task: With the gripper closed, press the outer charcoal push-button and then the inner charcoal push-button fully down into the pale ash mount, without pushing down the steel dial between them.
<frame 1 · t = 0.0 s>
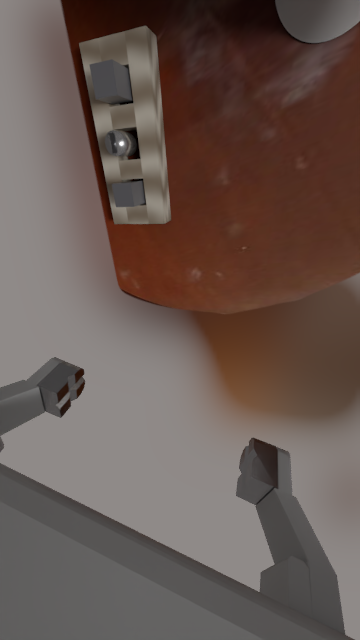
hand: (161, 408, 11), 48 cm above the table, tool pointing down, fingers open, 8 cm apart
outer button: (129, 193, 49), point 6 cm above the table, slide at 0.0 cm
mount: (136, 145, 49), on the table
steel dial: (120, 144, 44), point 6 cm above the table, slide at 0.0 cm
inner button: (112, 83, 40), point 6 cm above the table, slide at 0.0 cm
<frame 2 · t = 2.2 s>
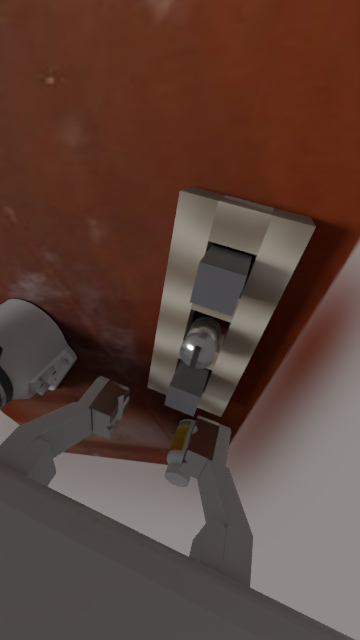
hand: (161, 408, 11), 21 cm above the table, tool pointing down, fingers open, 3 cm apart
outer button: (221, 278, 23), point 6 cm above the table, slide at 0.0 cm
supplement bottle: (192, 426, 48), on the table
mount: (212, 314, 33), on the table
steel dial: (200, 343, 28), point 6 cm above the table, slide at 0.0 cm
inner button: (187, 386, 33), point 6 cm above the table, slide at 0.0 cm
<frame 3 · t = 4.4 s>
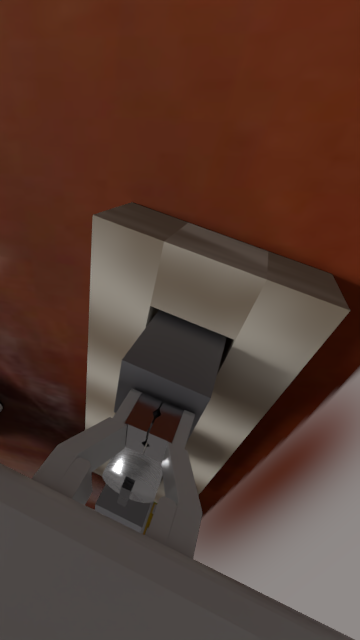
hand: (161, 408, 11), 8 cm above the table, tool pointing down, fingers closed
outer button: (173, 369, 13), point 5 cm above the table, slide at 0.7 cm, touching gripper
mount: (171, 387, 22), on the table
steel dial: (142, 453, 17), point 6 cm above the table, slide at 0.0 cm
inner button: (130, 490, 22), point 6 cm above the table, slide at 0.0 cm
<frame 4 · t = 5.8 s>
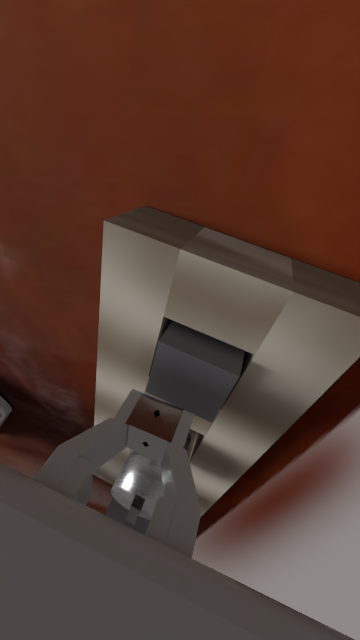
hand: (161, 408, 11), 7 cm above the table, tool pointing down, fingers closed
outer button: (200, 353, 14), point 3 cm above the table, slide at 3.1 cm
mount: (183, 396, 22), on the table
steel dial: (152, 468, 17), point 6 cm above the table, slide at 0.0 cm
inner button: (138, 501, 22), point 6 cm above the table, slide at 0.0 cm
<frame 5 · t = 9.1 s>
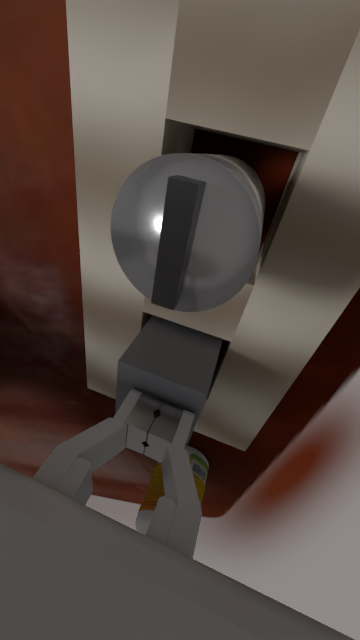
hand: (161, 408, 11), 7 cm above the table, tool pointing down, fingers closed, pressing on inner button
supplement bottle: (186, 455, 27), on the table
mount: (229, 197, 13), on the table
steel dial: (201, 224, 8), point 6 cm above the table, slide at 0.0 cm
inner button: (172, 369, 13), point 5 cm above the table, slide at 1.2 cm, touching gripper
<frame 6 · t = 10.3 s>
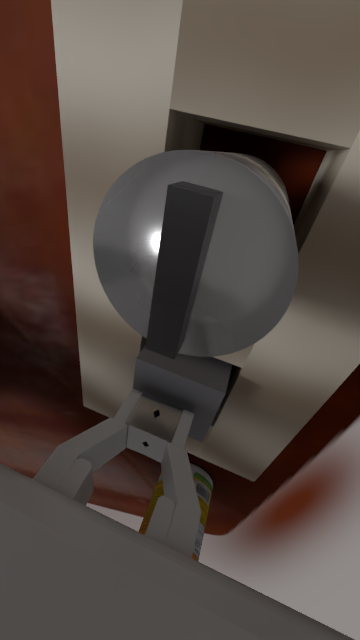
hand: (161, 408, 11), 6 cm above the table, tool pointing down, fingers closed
supplement bottle: (189, 472, 26), on the table
mount: (242, 202, 11), on the table
steel dial: (211, 241, 6), point 6 cm above the table, slide at 0.0 cm
inner button: (187, 367, 14), point 3 cm above the table, slide at 3.2 cm
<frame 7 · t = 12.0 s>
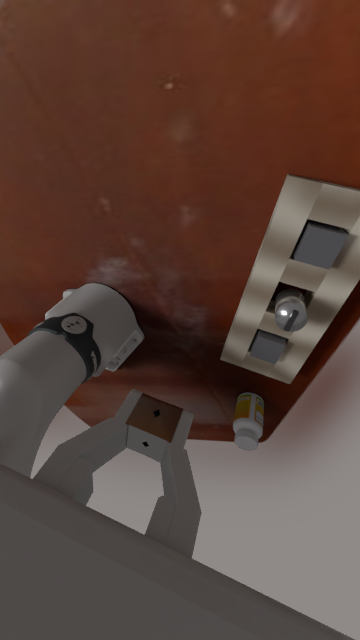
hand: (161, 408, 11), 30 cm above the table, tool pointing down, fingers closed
outer button: (317, 242, 30), point 3 cm above the table, slide at 3.1 cm
supplement bottle: (250, 400, 52), on the table
mount: (288, 289, 37), on the table
steel dial: (290, 310, 32), point 6 cm above the table, slide at 0.0 cm
inner button: (267, 341, 39), point 3 cm above the table, slide at 3.2 cm
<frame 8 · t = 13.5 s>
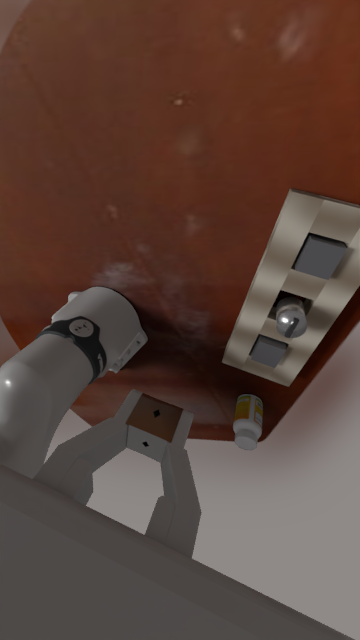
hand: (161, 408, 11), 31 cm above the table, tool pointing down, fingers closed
outer button: (317, 253, 32), point 3 cm above the table, slide at 3.1 cm
supplement bottle: (250, 401, 53), on the table
mount: (288, 296, 39), on the table
steel dial: (290, 317, 34), point 6 cm above the table, slide at 0.0 cm
inner button: (268, 345, 41), point 3 cm above the table, slide at 3.2 cm
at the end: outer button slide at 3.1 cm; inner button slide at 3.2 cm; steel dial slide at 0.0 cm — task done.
